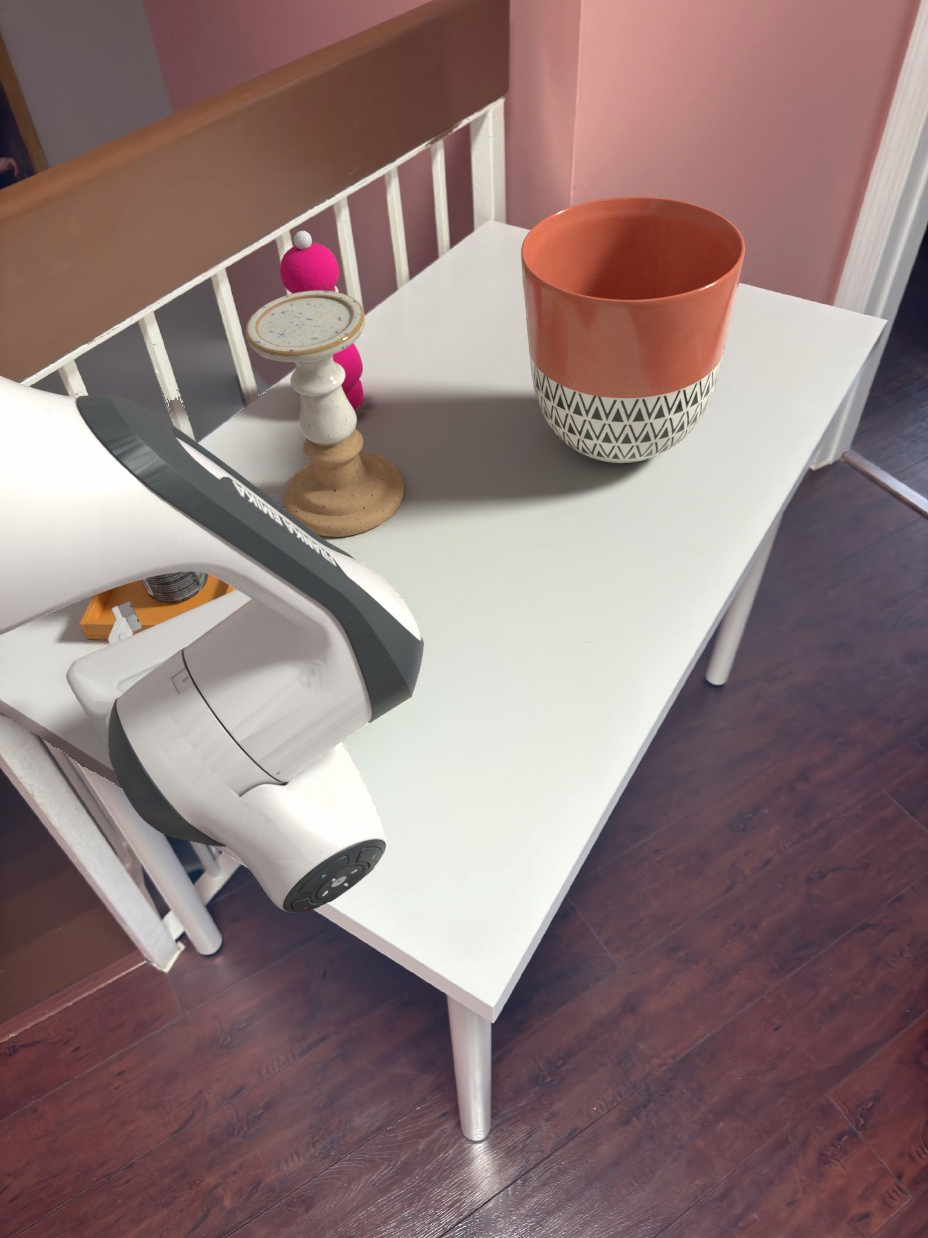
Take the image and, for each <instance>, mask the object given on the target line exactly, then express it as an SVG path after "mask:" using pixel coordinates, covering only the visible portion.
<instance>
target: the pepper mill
mask: <svg viewBox="0 0 928 1238" xmlns="http://www.w3.org/2000/svg"><path fill="white" fill-rule="evenodd" d="M293 243H294V245H293V246H292V247H290V248H289V249H288V250H287V251H286V252H285V253H284V254H283V256H282V258H281V260H280V265H279V274H280V279H281V282H282V284H283V286H284V288H285V290H287V291H288V292H289V293H290V294H293V293H298V292H304V291H316V290H323V291H333V292H339V288H338V287H337V283H338V281H339V277H340V267H339V264H338V260H337V258H336V256H335V255H334V253H333V252H332V251H331V250H330V249H329V248H328V247H326V246H325V245H323V244H320V243H318V242H313V240H312V236H311V234H310V233H309V232H307V231H305V230H299V231H296V233H295V234H294V237H293ZM333 360H334V362H336V363H338V364H339V365H341V366H342V367H343V369H344V371H345V379H344V382H343V383H342V385H341V386H342V389H343V391H344V393H345V396H346V398H347V399H348V401H349V403H350V404H351V406H352V407H353V409H354V411H355V412H356V410H358V409H359V408H360V407H361V405H362V404H363V402H364V401H365V393H364V389H363V383H362V381H361V380H360V379H361V377H362V375H363V371H364V365H363V364H364V363H363V361H362V357H361V354H360V351H359V350H358V348H357V346H356V345H355V342H353V343H352V344H351V345H350V346H348V347H347V348H345V349H343V350H342V351H340V352H337V353H335V354H333Z"/></svg>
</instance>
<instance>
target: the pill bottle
mask: <svg viewBox="0 0 928 1238" xmlns="http://www.w3.org/2000/svg"><path fill="white" fill-rule="evenodd" d="M207 580H208V574H207V573H202V572H192V571H191V572H175V573H167V574H162V575H157V576H153V577H148V578H145V579H141V581H142V583H143V585H144V587H145V589H146V591H147V593H148V595H149V596H150V597H151V598H152V599H153V600H155V601H157V602H160V603H167V604H172V603H179V602H183V601H185V600H188V599H190V598H192V597H193V596H195V595H196V594H198V593H199V592H200V591H201V590H202V589H203V587H204V586H205V584H206V583H207Z"/></svg>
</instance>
